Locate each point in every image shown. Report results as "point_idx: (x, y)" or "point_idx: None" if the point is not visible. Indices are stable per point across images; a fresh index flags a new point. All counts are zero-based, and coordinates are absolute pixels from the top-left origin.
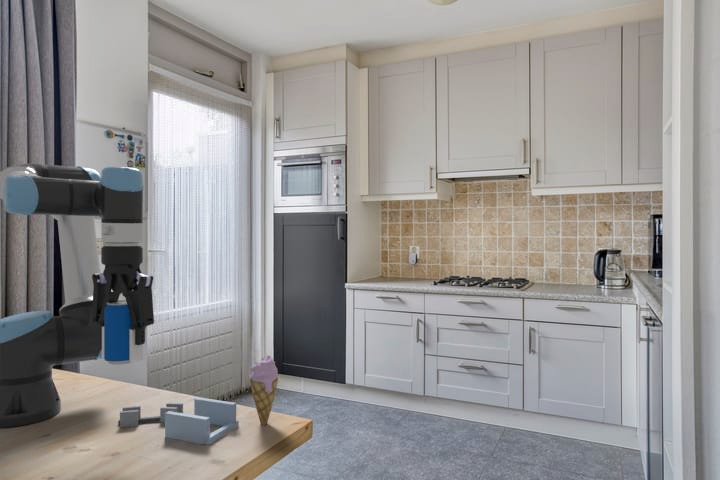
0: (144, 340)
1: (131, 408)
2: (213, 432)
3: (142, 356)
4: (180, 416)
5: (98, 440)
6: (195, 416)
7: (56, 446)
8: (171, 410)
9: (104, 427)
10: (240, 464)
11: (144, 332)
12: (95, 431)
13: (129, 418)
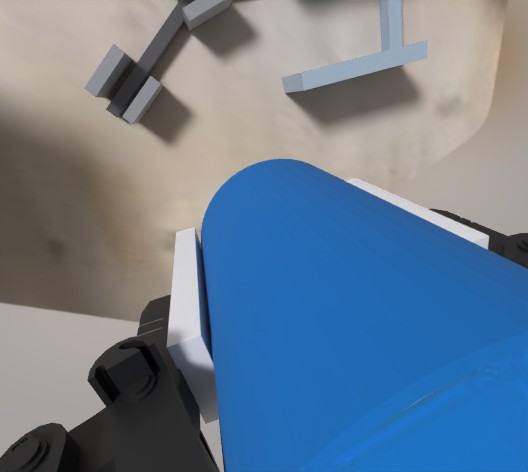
0: (450, 217)
1: (110, 75)
2: (390, 25)
3: (362, 182)
4: (351, 77)
5: (180, 192)
6: (390, 58)
7: (145, 255)
8: (220, 2)
9: (106, 145)
10: (489, 91)
11: (494, 235)
12: (118, 172)
13: (149, 103)
